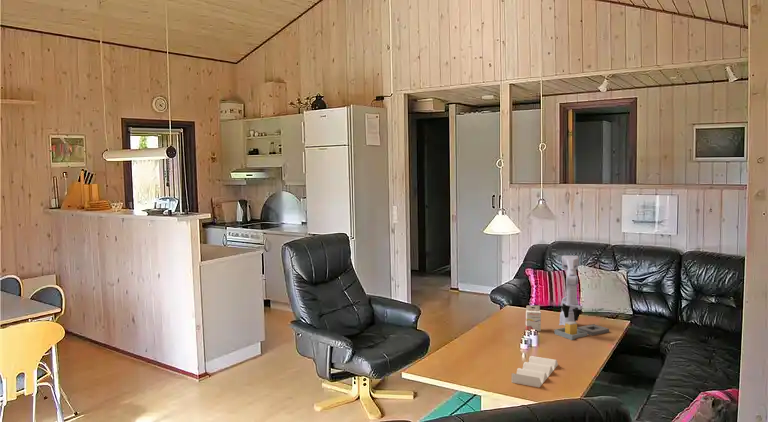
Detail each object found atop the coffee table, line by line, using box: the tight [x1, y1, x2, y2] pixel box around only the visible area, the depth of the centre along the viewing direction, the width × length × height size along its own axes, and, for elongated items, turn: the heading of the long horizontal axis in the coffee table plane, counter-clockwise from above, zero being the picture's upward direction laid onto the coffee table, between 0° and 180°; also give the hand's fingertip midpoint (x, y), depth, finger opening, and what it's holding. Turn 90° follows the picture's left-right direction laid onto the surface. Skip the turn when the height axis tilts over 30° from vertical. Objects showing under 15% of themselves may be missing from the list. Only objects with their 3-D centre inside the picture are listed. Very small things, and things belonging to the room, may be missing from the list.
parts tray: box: [554, 327, 588, 341], centre depth 355 cm, size 14×12×3 cm
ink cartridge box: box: [525, 305, 542, 332], centre depth 367 cm, size 9×5×15 cm, turn 84°
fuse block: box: [577, 323, 610, 336], centre depth 361 cm, size 12×14×3 cm
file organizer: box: [511, 355, 559, 388], centre depth 293 cm, size 13×35×5 cm, turn 150°
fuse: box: [564, 321, 578, 335], centre depth 355 cm, size 4×6×7 cm
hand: (571, 319), depth 354 cm, fingers open, 7 cm apart
